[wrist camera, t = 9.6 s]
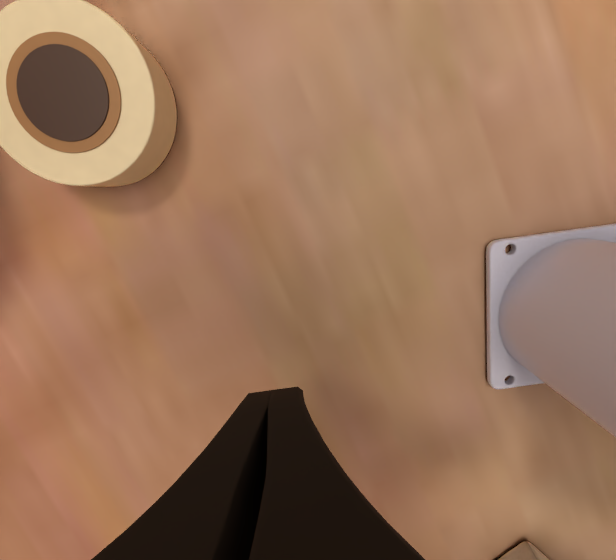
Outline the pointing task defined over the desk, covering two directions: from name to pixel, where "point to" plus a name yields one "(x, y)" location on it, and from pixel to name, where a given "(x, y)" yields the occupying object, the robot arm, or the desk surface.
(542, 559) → the box
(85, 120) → the tape roll
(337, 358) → the desk surface
